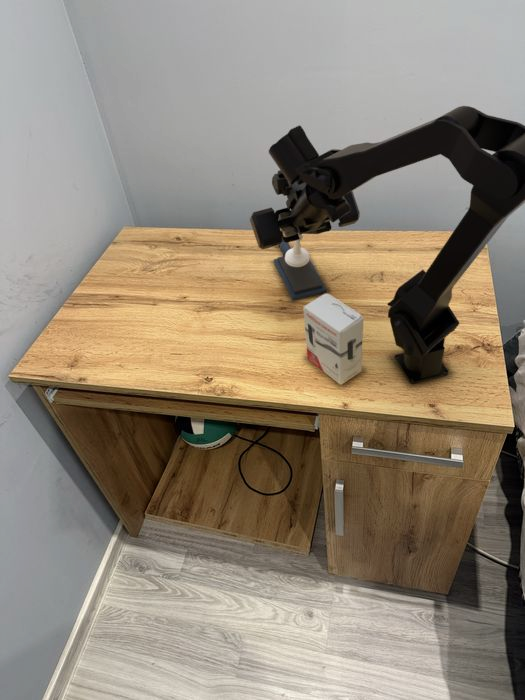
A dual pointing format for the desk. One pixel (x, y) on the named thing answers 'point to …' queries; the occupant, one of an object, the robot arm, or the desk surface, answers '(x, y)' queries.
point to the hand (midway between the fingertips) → (295, 232)
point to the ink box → (334, 337)
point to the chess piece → (297, 255)
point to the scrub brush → (299, 277)
